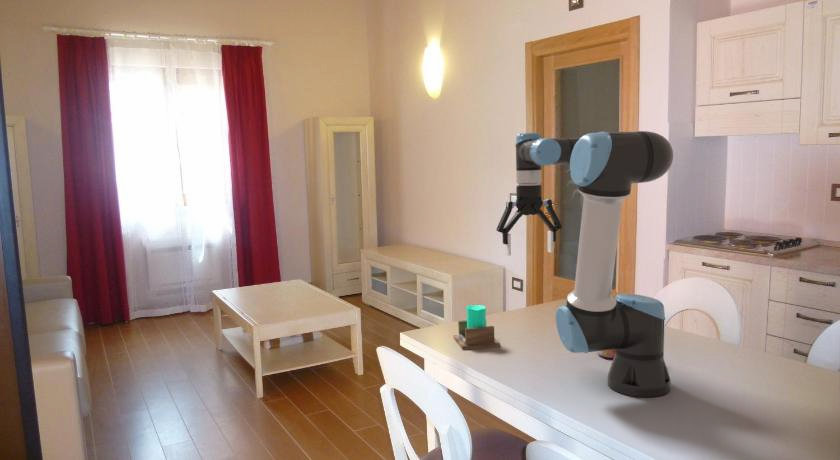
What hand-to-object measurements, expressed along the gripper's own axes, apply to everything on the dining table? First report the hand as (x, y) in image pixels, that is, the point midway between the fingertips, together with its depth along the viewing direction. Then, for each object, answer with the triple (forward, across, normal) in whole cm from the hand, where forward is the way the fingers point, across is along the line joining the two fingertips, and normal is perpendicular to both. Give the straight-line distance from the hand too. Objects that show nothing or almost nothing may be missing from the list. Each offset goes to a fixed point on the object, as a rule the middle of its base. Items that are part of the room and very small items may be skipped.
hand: (529, 253), depth 190 cm
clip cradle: (+29, +16, -6) cm, 33 cm away
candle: (+28, +16, -6) cm, 32 cm away
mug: (+29, -20, +16) cm, 39 cm away
